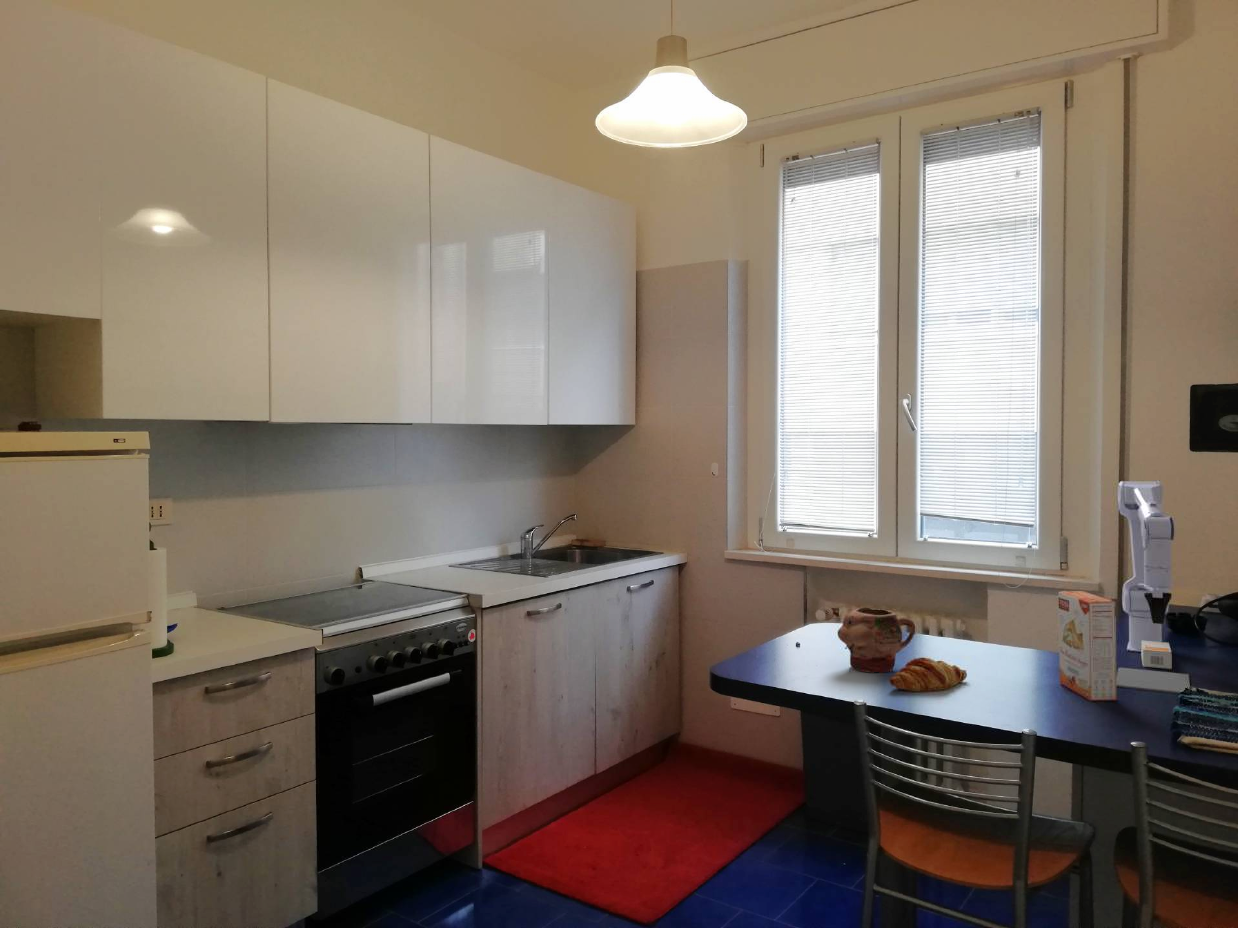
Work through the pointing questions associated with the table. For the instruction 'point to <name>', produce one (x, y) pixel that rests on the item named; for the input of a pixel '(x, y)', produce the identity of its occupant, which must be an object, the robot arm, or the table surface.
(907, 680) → the croissant
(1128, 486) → the robot arm
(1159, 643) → the skincare box
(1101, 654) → the cracker box
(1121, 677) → the rubber mat
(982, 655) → the table surface
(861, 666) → the brown sculpted mug
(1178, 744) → the table surface
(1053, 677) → the table surface
